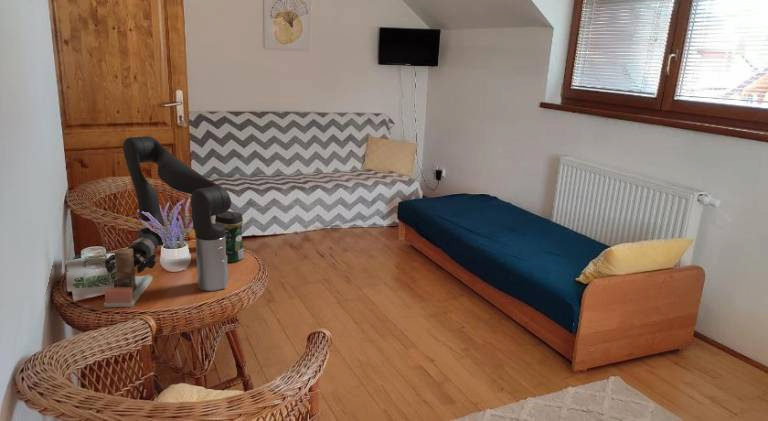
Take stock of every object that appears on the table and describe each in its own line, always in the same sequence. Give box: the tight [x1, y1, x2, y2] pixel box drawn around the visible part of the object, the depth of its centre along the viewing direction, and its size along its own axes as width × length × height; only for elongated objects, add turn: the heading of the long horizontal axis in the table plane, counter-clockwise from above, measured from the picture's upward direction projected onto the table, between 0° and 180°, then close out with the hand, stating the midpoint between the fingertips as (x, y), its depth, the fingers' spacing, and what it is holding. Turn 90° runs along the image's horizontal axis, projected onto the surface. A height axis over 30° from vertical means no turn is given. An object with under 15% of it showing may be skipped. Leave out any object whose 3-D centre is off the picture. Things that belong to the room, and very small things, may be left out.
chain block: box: [112, 248, 137, 291], centre depth 169 cm, size 4×7×13 cm, turn 7°
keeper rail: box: [103, 273, 153, 308], centre depth 173 cm, size 8×21×5 cm, turn 7°
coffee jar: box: [215, 210, 244, 263], centre depth 203 cm, size 10×8×19 cm
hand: (123, 270), depth 168 cm, fingers open, 8 cm apart
